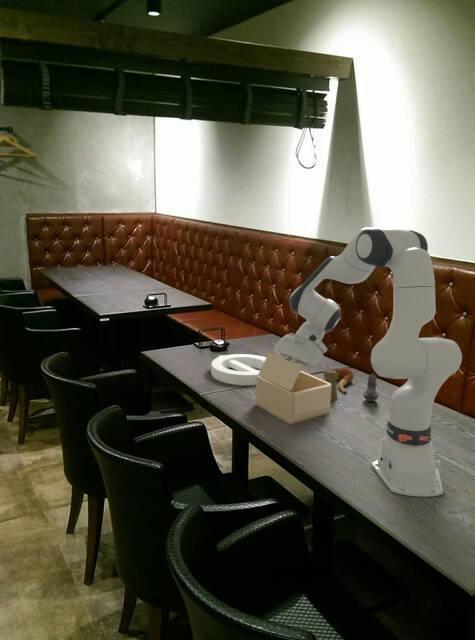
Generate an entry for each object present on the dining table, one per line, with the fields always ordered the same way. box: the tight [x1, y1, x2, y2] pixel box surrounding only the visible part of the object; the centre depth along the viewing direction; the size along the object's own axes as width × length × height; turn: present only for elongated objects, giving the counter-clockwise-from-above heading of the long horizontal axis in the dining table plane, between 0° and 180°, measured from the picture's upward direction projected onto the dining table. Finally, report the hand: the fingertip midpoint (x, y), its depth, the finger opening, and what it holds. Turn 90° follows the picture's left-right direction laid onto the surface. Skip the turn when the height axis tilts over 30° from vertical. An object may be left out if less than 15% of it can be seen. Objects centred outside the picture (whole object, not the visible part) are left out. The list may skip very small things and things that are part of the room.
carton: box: [255, 370, 332, 425], centre depth 203 cm, size 19×21×11 cm
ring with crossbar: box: [210, 353, 267, 386], centre depth 240 cm, size 28×28×5 cm
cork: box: [323, 369, 338, 402], centre depth 214 cm, size 6×6×11 cm
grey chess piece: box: [362, 372, 380, 406], centre depth 211 cm, size 6×6×12 cm
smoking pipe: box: [335, 367, 355, 395], centre depth 228 cm, size 7×18×6 cm, turn 176°
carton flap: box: [258, 352, 303, 391], centre depth 197 cm, size 1×18×9 cm, turn 35°
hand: (284, 369), depth 198 cm, fingers closed
